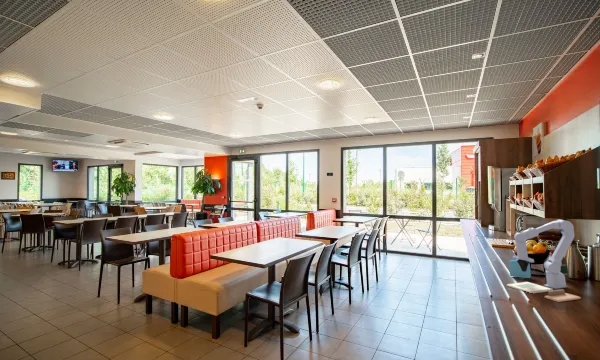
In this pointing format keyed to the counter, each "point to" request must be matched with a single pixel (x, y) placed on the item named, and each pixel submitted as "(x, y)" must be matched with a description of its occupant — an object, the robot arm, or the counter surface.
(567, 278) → the beer bottle
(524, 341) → the counter surface
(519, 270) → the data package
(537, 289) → the board
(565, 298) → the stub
